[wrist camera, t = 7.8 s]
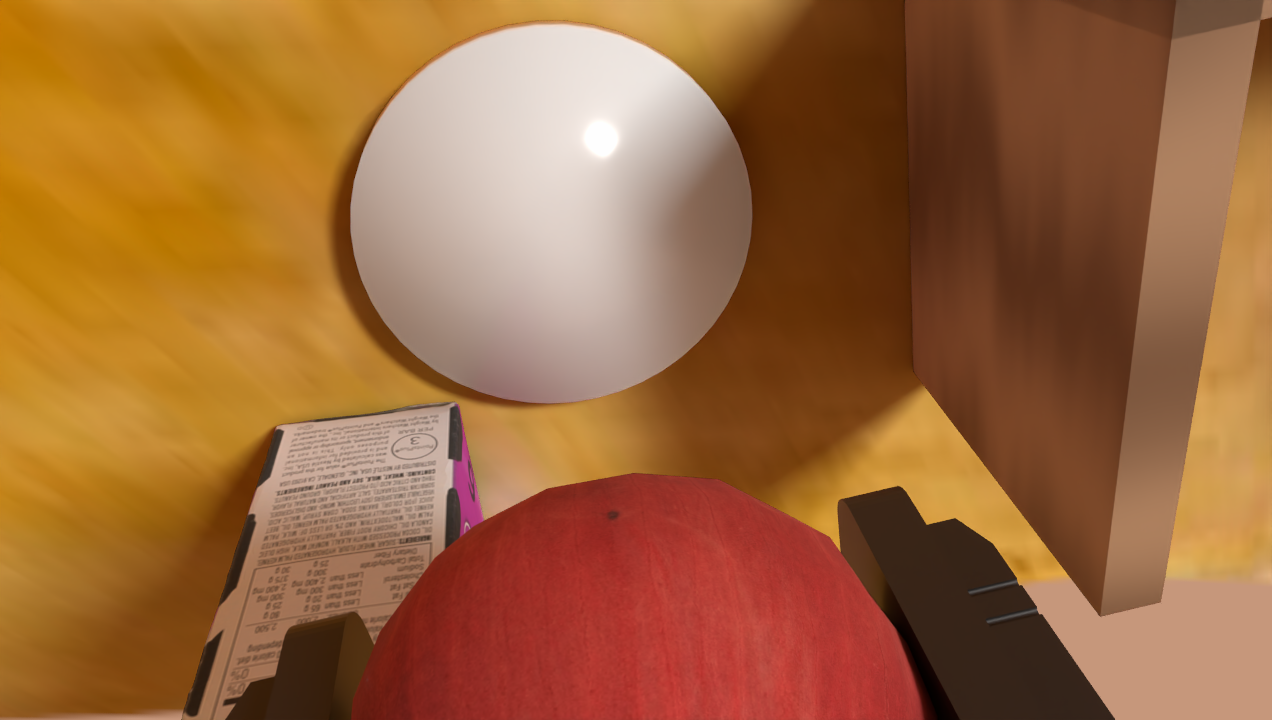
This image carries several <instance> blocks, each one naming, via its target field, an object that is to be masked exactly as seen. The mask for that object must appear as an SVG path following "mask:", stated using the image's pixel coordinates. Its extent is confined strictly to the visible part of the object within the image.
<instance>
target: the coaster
mask: <svg viewBox="0 0 1272 720" xmlns="http://www.w3.org/2000/svg"><path fill="white" fill-rule="evenodd" d="M751 228H752V196H751V188H750V183H749V178H748V172H747V168H746V165H745V162H744V159H743V156H742V153H741V150H740V147H739V144H738V142H737V141H736V139H735V137H734V135H733V133H732V131H731V129H730V127H729V125H728V123H727V121H726V120H725V118H724V117H723V116H722V114H721V113H720V111H719V110H718V108H717V107H716V106H715V104H714V103H713V101H712V100H711V99H710V97H709V96H708V95H707V94H706V92H705V91H704V90H703V89H702V88H701V87H700V86H699V85H698V84H697V82H696V81H695V80H694V79H693V78H692V77H691V76H690V75H689V74H688V73H687V72H686V71H685V70H683V69H682V68H681V67H680V66H679V65H677V64H676V63H675V62H674V61H672V60H671V59H670V58H669V57H667V56H666V55H664V54H663V53H661V52H659V51H658V50H656V49H654V48H653V47H651V46H649V45H648V44H646V43H644V42H642V41H640V40H638V39H635V38H633V37H631V36H628V35H626V34H623V33H621V32H619V31H615V30H612V29H608V28H604V27H601V26H597V25H593V24H587V23H580V22H572V21H564V20H558V21H530V22H523V23H516V24H509V25H505V26H501V27H498V28H495V29H491V30H488V31H484V32H481V33H478V34H476V35H474V36H472V37H469V38H467V39H465V40H463V41H460V42H458V43H456V44H454V45H452V46H451V47H449V48H448V49H446V50H444V51H443V52H441V53H440V54H438V55H436V56H435V57H433V58H432V59H430V60H429V61H428V62H427V63H425V64H424V65H423V66H422V67H421V68H420V69H418V70H417V71H416V72H415V73H414V74H412V75H411V76H410V77H409V78H408V79H407V80H406V82H405V83H404V84H403V85H402V86H401V87H400V88H399V89H398V91H397V92H396V93H395V94H394V95H393V96H392V97H391V99H390V100H389V102H388V103H387V105H386V106H385V108H384V109H383V111H382V112H381V114H380V116H379V117H378V119H377V120H376V123H375V125H374V127H373V129H372V131H371V133H370V135H369V138H368V140H367V142H366V144H365V147H364V150H363V153H362V156H361V159H360V163H359V166H358V169H357V173H356V176H355V179H354V185H353V192H352V199H351V238H352V244H353V251H354V257H355V260H356V264H357V267H358V270H359V274H360V277H361V280H362V283H363V285H364V287H365V289H366V291H367V293H368V296H369V298H370V300H371V302H372V304H373V305H374V307H375V309H376V310H377V312H378V313H379V315H380V316H381V318H382V320H383V321H384V323H385V324H386V325H387V326H388V328H389V329H390V330H391V331H392V332H393V334H394V335H395V336H396V337H397V338H398V340H399V341H400V342H401V343H402V344H403V345H404V346H406V347H407V348H408V349H409V350H410V351H411V352H412V353H413V354H414V355H415V356H416V357H417V358H419V359H420V360H422V361H423V362H424V363H426V364H427V365H428V366H430V367H431V368H433V369H434V370H435V371H437V372H439V373H440V374H442V375H444V376H446V377H448V378H449V379H451V380H453V381H455V382H457V383H459V384H461V385H464V386H466V387H469V388H471V389H473V390H476V391H478V392H481V393H485V394H488V395H492V396H496V397H499V398H503V399H509V400H515V401H521V402H530V403H566V402H577V401H582V400H588V399H594V398H599V397H602V396H606V395H609V394H612V393H616V392H619V391H622V390H624V389H627V388H629V387H632V386H634V385H636V384H639V383H641V382H643V381H645V380H647V379H649V378H650V377H652V376H654V375H656V374H658V373H659V372H661V371H663V370H664V369H666V368H667V367H668V366H670V365H671V364H673V363H674V362H676V361H677V360H678V359H680V358H681V357H682V356H683V355H684V354H686V353H687V352H688V351H689V350H690V349H691V348H692V347H693V346H694V345H696V344H697V343H698V342H699V341H700V340H701V338H702V337H703V336H704V335H705V334H706V333H707V332H708V330H709V329H710V328H711V327H712V326H713V325H714V323H715V322H716V320H717V319H718V317H719V316H720V315H721V313H722V312H723V310H724V309H725V307H726V306H727V304H728V302H729V300H730V298H731V296H732V294H733V292H734V290H735V288H736V287H737V284H738V282H739V279H740V276H741V273H742V271H743V268H744V265H745V262H746V258H747V253H748V249H749V244H750V240H751Z"/></svg>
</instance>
